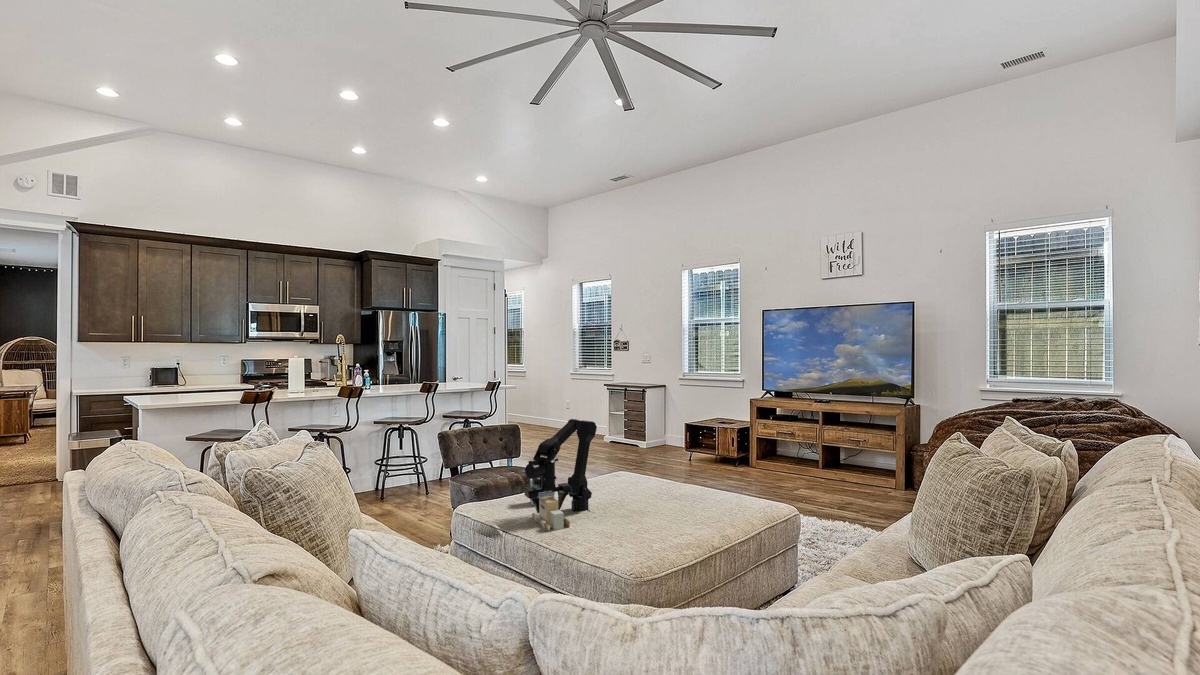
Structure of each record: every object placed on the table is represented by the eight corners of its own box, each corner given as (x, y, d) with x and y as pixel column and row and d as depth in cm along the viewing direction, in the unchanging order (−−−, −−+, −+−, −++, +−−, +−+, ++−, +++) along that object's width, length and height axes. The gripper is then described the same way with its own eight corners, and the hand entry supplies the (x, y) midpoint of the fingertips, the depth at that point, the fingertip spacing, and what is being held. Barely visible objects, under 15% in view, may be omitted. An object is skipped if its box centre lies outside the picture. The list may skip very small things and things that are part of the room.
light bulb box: (532, 506, 267) (531, 482, 267) (529, 501, 273) (529, 478, 273) (555, 504, 270) (555, 480, 269) (552, 499, 276) (552, 476, 276)
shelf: (569, 529, 235) (569, 521, 235) (547, 533, 231) (547, 524, 231) (552, 516, 251) (552, 508, 251) (531, 520, 247) (531, 512, 247)
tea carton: (558, 523, 240) (558, 501, 240) (546, 525, 238) (546, 502, 238) (550, 517, 248) (550, 495, 248) (539, 519, 246) (538, 497, 245)
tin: (559, 525, 238) (559, 509, 237) (563, 528, 234) (563, 512, 234) (550, 527, 236) (550, 511, 236) (554, 530, 232) (554, 514, 232)
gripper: (561, 466, 254) (561, 502, 254) (519, 472, 246) (520, 509, 246) (572, 472, 244) (572, 510, 244) (528, 478, 236) (529, 517, 236)
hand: (548, 511), depth 243 cm, fingers open, 9 cm apart
